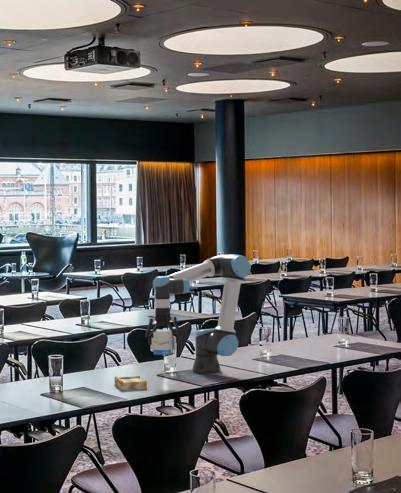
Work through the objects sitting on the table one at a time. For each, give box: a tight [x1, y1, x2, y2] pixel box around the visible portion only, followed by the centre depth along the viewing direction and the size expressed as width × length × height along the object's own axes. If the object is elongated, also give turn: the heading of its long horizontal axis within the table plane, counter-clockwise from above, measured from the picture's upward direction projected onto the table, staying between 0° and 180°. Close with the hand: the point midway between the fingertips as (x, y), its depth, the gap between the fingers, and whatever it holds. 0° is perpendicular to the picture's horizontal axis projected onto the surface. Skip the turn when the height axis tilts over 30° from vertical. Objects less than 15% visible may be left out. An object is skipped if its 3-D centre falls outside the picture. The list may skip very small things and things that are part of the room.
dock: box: [114, 375, 148, 392], centre depth 449 cm, size 13×14×4 cm
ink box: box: [152, 328, 174, 356], centre depth 453 cm, size 9×8×12 cm
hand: (163, 350), depth 454 cm, fingers closed on ink box, 11 cm apart
